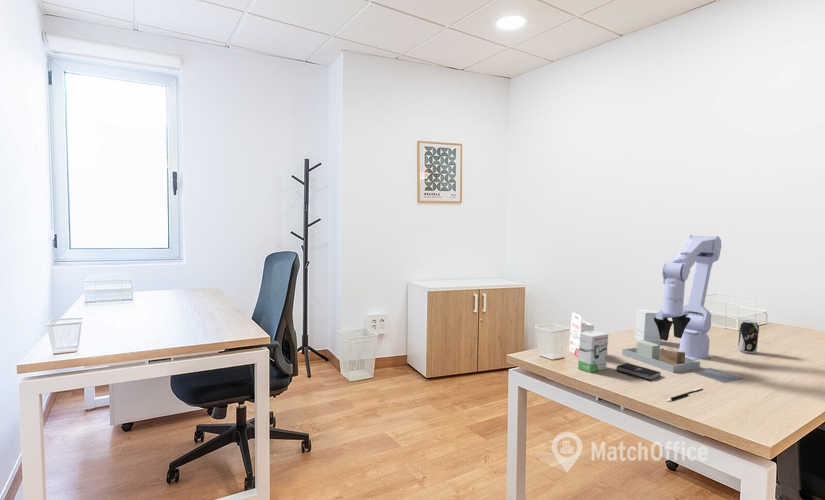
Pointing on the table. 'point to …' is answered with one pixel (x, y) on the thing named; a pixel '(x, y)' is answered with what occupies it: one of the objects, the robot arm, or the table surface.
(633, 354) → the grey bin
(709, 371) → the slate mat
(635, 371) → the external hard drive
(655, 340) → the supplement box
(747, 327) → the beverage can
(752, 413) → the table surface
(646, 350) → the sage block
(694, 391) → the pen
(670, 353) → the labelled block
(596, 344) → the ink box
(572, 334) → the ink cartridge box
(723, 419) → the table surface
